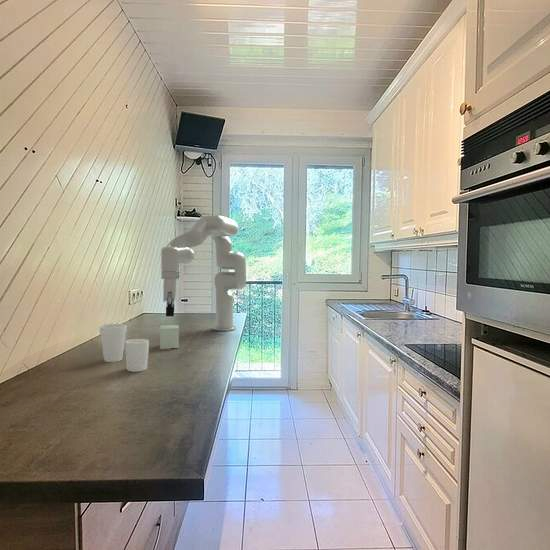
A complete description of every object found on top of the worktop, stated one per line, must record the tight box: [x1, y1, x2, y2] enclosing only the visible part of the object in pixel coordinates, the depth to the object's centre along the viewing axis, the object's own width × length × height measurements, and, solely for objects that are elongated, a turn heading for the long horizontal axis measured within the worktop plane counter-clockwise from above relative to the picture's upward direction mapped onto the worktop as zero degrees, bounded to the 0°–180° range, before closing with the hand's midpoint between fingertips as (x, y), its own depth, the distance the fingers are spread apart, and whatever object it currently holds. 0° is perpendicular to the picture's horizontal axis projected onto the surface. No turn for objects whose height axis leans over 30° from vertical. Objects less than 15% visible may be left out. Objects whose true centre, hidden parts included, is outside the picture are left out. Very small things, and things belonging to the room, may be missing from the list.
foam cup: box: [99, 323, 128, 363], centre depth 149 cm, size 10×9×13 cm
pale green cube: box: [159, 324, 180, 350], centre depth 172 cm, size 8×8×9 cm
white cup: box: [124, 338, 150, 373], centre depth 138 cm, size 8×8×10 cm
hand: (170, 314), depth 172 cm, fingers open, 9 cm apart
